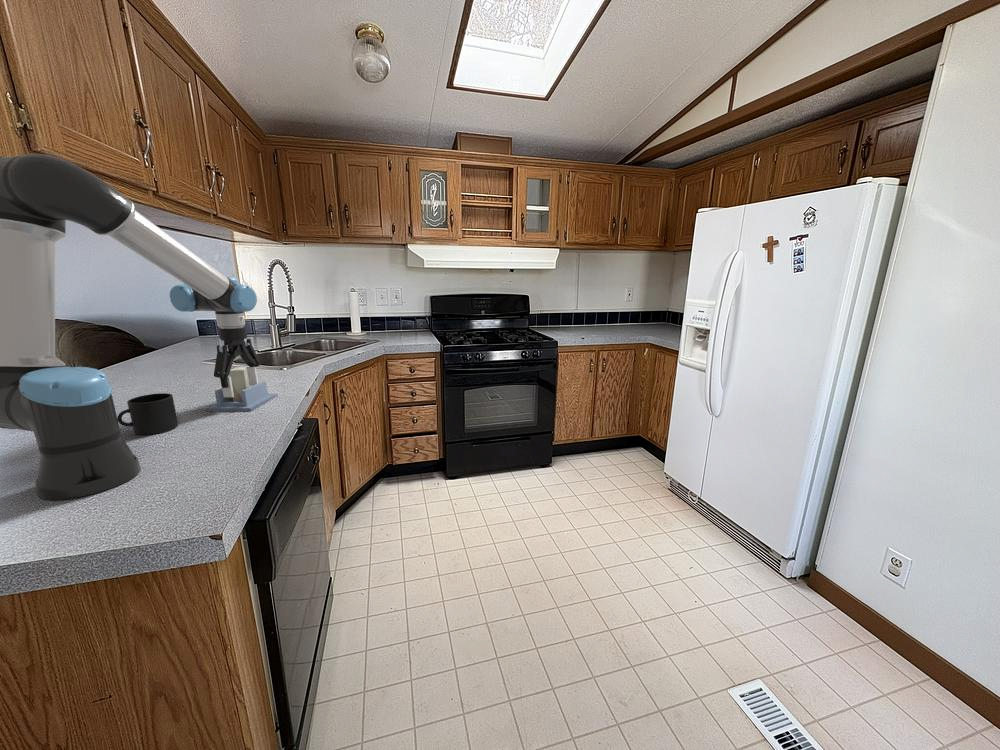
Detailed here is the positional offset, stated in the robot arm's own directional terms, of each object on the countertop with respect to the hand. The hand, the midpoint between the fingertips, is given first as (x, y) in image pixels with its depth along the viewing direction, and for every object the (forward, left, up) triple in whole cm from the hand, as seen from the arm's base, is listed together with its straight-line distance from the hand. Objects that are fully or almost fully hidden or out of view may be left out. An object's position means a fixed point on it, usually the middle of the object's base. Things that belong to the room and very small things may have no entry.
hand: (242, 391), depth 133 cm
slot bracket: (0, 0, -4) cm, 4 cm away
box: (-1, 0, -3) cm, 3 cm away
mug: (-24, +11, -4) cm, 27 cm away
